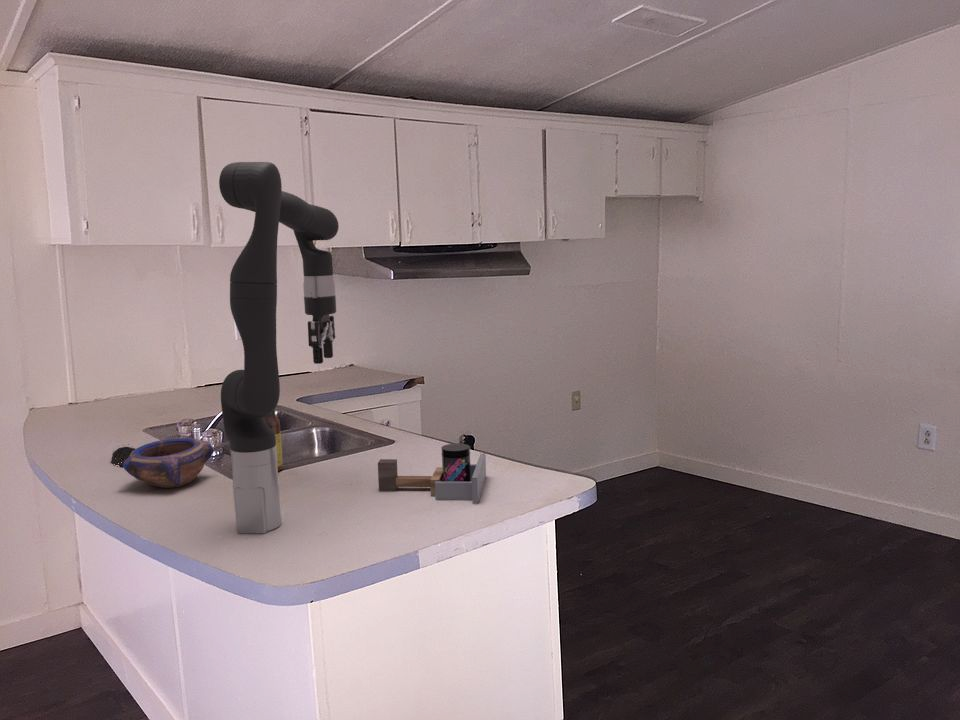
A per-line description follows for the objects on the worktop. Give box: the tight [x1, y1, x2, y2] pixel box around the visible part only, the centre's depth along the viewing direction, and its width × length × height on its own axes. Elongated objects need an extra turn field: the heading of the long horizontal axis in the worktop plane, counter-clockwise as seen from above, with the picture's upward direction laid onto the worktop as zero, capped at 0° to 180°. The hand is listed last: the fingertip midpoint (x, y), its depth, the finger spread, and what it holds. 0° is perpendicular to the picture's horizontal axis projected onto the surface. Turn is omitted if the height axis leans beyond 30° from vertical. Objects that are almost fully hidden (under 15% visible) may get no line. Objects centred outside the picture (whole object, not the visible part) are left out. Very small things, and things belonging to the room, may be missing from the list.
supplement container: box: [440, 443, 472, 482], centre depth 190 cm, size 7×7×10 cm
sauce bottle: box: [263, 409, 284, 472], centre depth 210 cm, size 6×6×20 cm
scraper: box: [377, 458, 443, 497], centre depth 192 cm, size 10×15×7 cm, turn 84°
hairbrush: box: [111, 444, 136, 467], centre depth 219 cm, size 8×4×25 cm
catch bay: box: [434, 453, 487, 504], centre depth 191 cm, size 20×10×6 cm, turn 174°
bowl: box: [122, 437, 215, 489], centre depth 202 cm, size 18×18×10 cm
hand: (323, 360), depth 198 cm, fingers open, 8 cm apart
